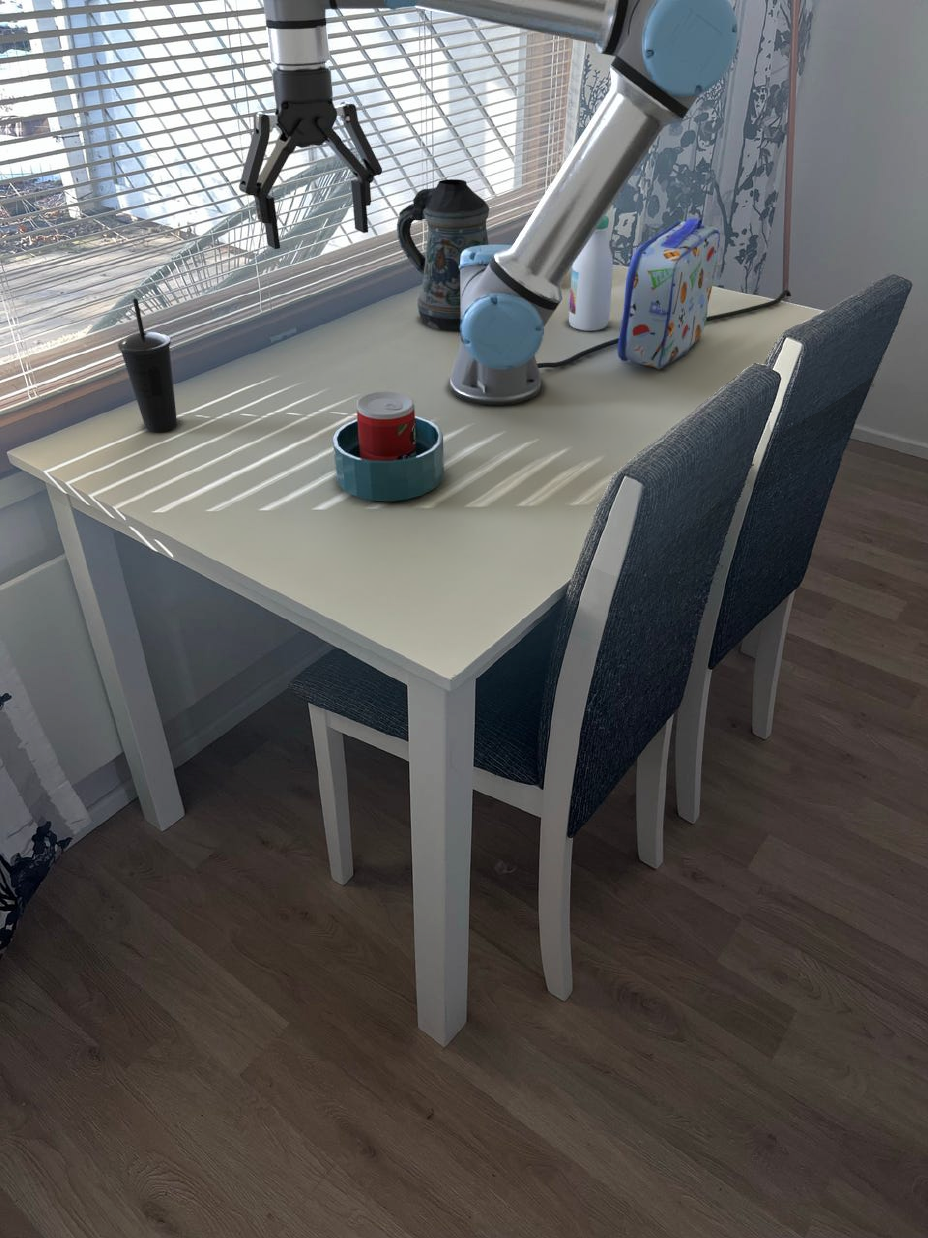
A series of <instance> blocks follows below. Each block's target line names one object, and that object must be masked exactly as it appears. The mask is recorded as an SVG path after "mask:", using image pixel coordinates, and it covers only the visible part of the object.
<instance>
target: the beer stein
mask: <svg viewBox="0 0 928 1238" xmlns="http://www.w3.org/2000/svg"><path fill="white" fill-rule="evenodd" d="M489 215H490V207H489V205H488V203H487V202H486V201H485V199H483V198H482V197H481V196H479V195H478V194H476V192H475V191H473V190H472V188H470V187H469V185H468V184H467V181H466V180H463V179H458V178H455V179H453V178H450V179H441V180H439V181H438V183H437V185H436V186H435V187H432V188H423V189H421V190H418V192H417V193H416V194H415V196H414V198H413V199H412V203H410V204H409V205H407V206H405V207H404V208H403V209H401V211H400V212H399V214H398V219H397V223H396V235H397V240H398V243H399V245H400V248H401V249H402V251H403V253H404V255H405V256H406V258H407V259H408V261H409V262H410V263H411V264H412V265H413V267H414V268H415V269H416V270H417V271H418V272H419V273H420V274H422V275H423V280H422V285H421V289H420V293H419V296H418V299H417V310H418V313H419V317H420V320H421V323H422V324H424V325H425V326H427V327H428V328H432V329H436V330H438V331H446V332H461V331H460V323H461V297H460V270H459V265H460V259H461V253H462V252H463V251H464V250H465V249H467V248H470V247H474V246H480V245H489V237H488V230H487V221H488V218H489ZM424 220H425V221H426V223H427V236H426V237H427V238H426V248H425V256H424V255H423V253H422V252H421V251H420V250H419V249H418V247H417V246H416V243H415V242H414V239H413V238H412V235H411V227H412V224H413V222H414V221H416V222H417V221H419V222H421V221H424Z"/></svg>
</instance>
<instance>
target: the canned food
mask: <svg viewBox="0 0 928 1238" xmlns="http://www.w3.org/2000/svg"><path fill="white" fill-rule="evenodd" d="M415 416H416V411H415V402H414V400H413V398H412V397H410V396H408V395H406V394H404V393H401V392H396V391H378V392H377V391H376V392H371V393H369V394H368V393H367V394H366V395H363V396H361V397H360V398H358V399H357V402H356V419H357V422H358V434H359V446H360V458H363V459H368V460H378V461H392V460H401V459H407V458H410V457H414V456H416V435H415Z"/></svg>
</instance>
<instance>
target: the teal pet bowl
mask: <svg viewBox="0 0 928 1238" xmlns="http://www.w3.org/2000/svg"><path fill="white" fill-rule="evenodd" d="M415 435H416V456H414V457H410V458H407V459H401V460H392V461H378V460H368V459H363V458H360V446H359V434H358V422H357V418H356V419H353V420H351V421H350V422H347V423H344V424H343V425H342V426H340V428H338V429H337V430H335V433H334V435H333V437H332V449H333V457H334V468H335V477H336V481H337V485H338V486H339V487H340V488H341V489H342V490H343V491H344V492H345V493H347V494H350V495H351V496H354V497H356V498H359V499H364V500H368V501H373V502H398V501H404V500H405V501H406V500H410V499H413V498H417V497H420V496H424V495H425V494H427V493H429V492H431V491H432V490H434V489H436V488H437V487H438V486H439V485H440V483H441V482H442V481H443V479H444V474H445V458H444V434H443V432H442V430H441V428H440V427H439V426H438V425H437V424H435V423H434V422H433V421H431V420H428V419H425V418H423V417H421V416H417V415H415Z"/></svg>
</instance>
